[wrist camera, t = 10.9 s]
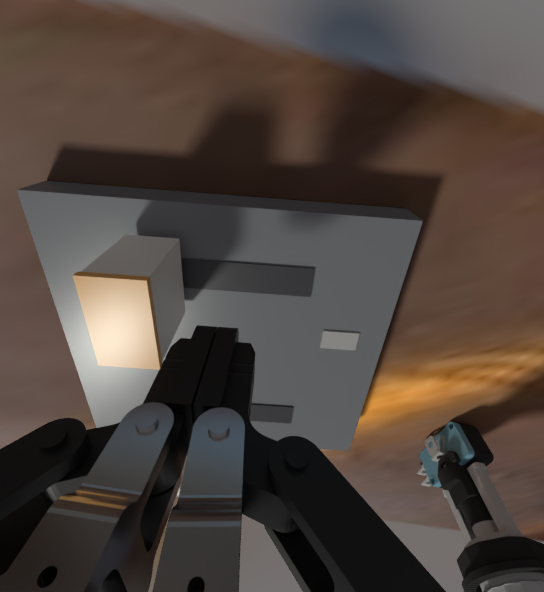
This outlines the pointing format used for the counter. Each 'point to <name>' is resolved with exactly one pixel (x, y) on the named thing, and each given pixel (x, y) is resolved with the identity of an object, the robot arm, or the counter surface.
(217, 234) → the breaker board
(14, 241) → the counter surface
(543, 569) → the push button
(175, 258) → the handle
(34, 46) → the counter surface
